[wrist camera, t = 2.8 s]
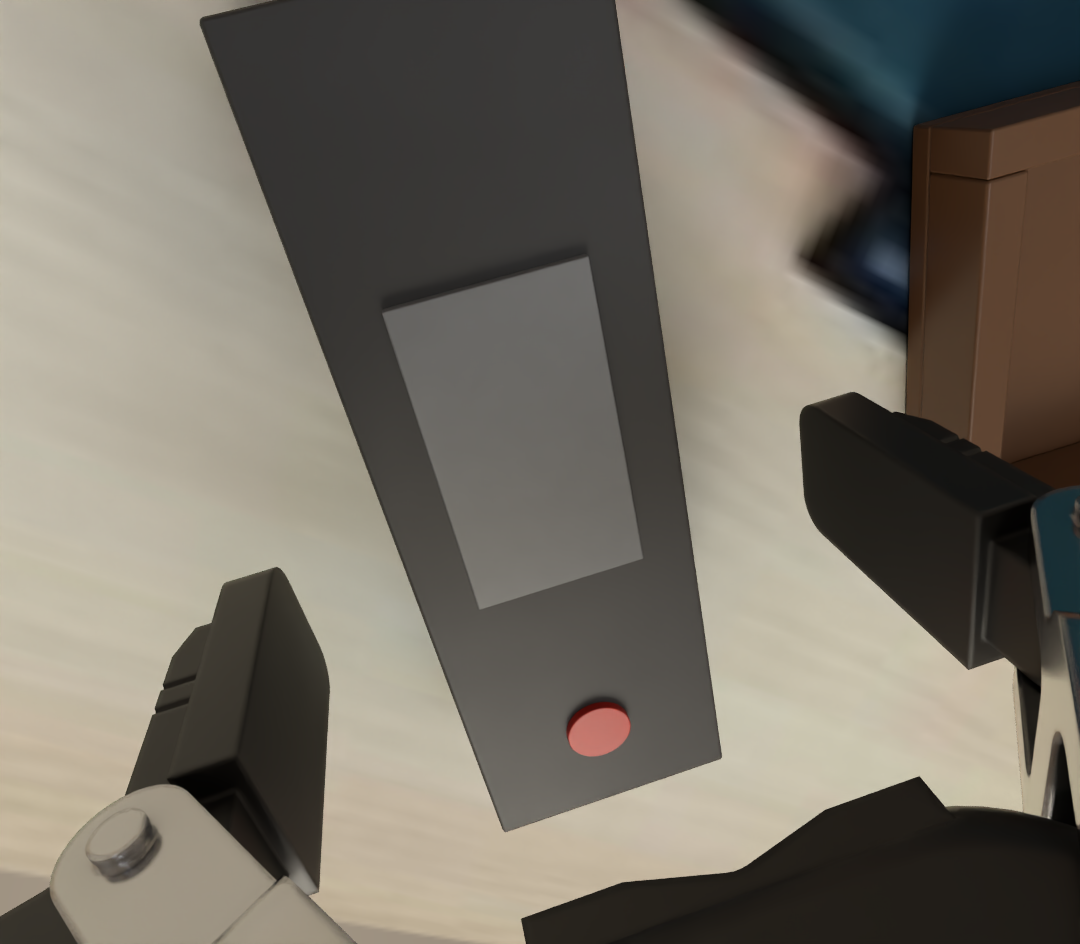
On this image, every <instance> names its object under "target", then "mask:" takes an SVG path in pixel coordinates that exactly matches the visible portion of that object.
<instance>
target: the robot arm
mask: <svg viewBox="0 0 1080 944" xmlns="http://www.w3.org/2000/svg"><path fill="white" fill-rule="evenodd" d="M799 422H800V440H801V456H802V472H803V487H804V498H805V503H806V506H807V509H808V512H809V515H810V517H811V519H812V521H813V523H814V524H815V526H816V527H817V529H818V530H819V531H820V532H821V533H822V534H823V535H824V536H825V537H826V538H827V539H828V540H829V541H830V542H831V543H832V544H833V545H834V546H835V547H837V548H838V549H839V550H840V551H841V552H842V553H843V554H844V555H845V556H846V557H847V558H848V559H850V560H851V561H852V562H853V563H854V564H855V565H856V566H857V567H858V568H859V569H860V570H861V571H862V572H864V573H865V574H866V575H867V576H868V577H869V578H870V579H871V580H872V581H873V582H874V583H875V584H876V585H878V586H879V587H880V588H881V589H882V590H883V591H884V592H885V593H886V594H887V595H888V596H889V597H890V598H892V599H893V600H894V601H895V602H896V603H897V604H898V605H899V606H900V607H901V608H902V609H903V610H905V611H906V612H907V613H908V614H909V615H910V616H911V617H912V618H913V619H914V620H915V621H916V622H917V623H919V624H920V625H921V626H922V627H923V628H924V629H925V630H926V631H927V632H928V633H929V634H930V635H931V636H933V637H934V638H935V639H936V640H937V641H938V642H939V643H940V644H941V645H942V646H943V647H944V648H945V649H947V650H948V651H949V652H950V653H951V654H952V655H953V656H954V657H955V658H956V659H957V660H958V661H960V662H961V663H962V664H963V665H964V666H965V667H966V668H967V669H968V670H969V669H972V668H975V667H978V666H981V665H984V664H987V663H990V662H993V661H995V660H998V659H1001V658H1004V657H1005V658H1006V659H1007V660H1009V661H1010V662H1011V663H1012V664H1013V665H1014V676H1013V698H1014V709H1015V721H1016V732H1017V744H1018V755H1019V767H1020V778H1021V790H1022V804H1023V812H1018V811H1013V810H1007V809H999V808H990V807H979V806H949V807H945V806H944V805H943V804H942V803H941V801H940V800H939V799H938V798H937V797H936V795H935V794H934V793H933V792H932V791H931V790H930V788H929V787H928V786H927V785H926V784H925V782H924V781H923V780H922V779H921V778H920V776H919V777H916V778H913V779H910V780H908V781H905V782H902V783H899V784H896V785H894V786H891V787H888V788H885V789H882V790H880V791H877V792H874V793H871V794H868V795H866V796H863V797H860V798H857V799H854V800H852V801H849V802H846V803H843V804H840V805H838V806H835V807H832V808H829V809H826V810H824V811H823V812H822V813H820V814H819V815H817V816H816V817H815V818H813V819H812V820H810V821H809V822H808V823H806V824H805V825H803V826H802V827H800V828H799V829H798V830H796V831H795V832H793V833H792V834H791V835H789V836H788V837H786V838H785V839H784V840H782V841H781V842H779V843H778V844H777V845H775V846H774V847H772V848H771V849H769V850H768V851H767V852H765V853H764V854H762V855H761V856H760V857H758V858H757V859H755V860H754V861H753V862H751V863H750V864H748V865H747V866H745V867H743V868H742V869H739V870H737V871H734V872H728V873H720V874H709V875H698V876H687V877H676V878H666V879H655V880H644V881H633V882H622V883H620V884H617V885H614V886H611V887H608V888H606V889H603V890H600V891H597V892H595V893H592V894H589V895H586V896H583V897H581V898H578V899H575V900H572V901H569V902H567V903H564V904H561V905H558V906H555V907H553V908H550V909H547V910H544V911H541V912H539V913H536V914H533V915H530V916H527V917H525V918H522V919H521V921H522V926H523V931H524V936H525V941H526V944H1080V485H1078V486H1070V487H1064V488H1060V489H1055V488H1053V487H1051V486H1050V485H1048V484H1046V483H1044V482H1042V481H1041V480H1039V479H1037V478H1035V477H1033V476H1032V475H1030V474H1028V473H1026V472H1024V471H1022V470H1021V469H1019V468H1017V467H1015V466H1013V465H1012V464H1010V463H1008V462H1006V461H1004V460H1002V459H1001V458H999V457H997V456H995V455H993V454H992V453H990V452H988V451H983V452H982V451H981V448H980V447H979V446H977V445H975V444H973V443H972V442H970V441H968V440H966V439H964V438H962V439H959V437H958V435H957V434H955V433H953V432H952V431H950V430H948V429H946V428H944V427H942V426H941V425H939V424H937V423H935V422H933V421H932V420H928V419H924V418H919V417H915V416H911V415H907V414H903V413H899V412H893V413H891V412H890V411H888V410H886V409H885V408H883V407H881V406H879V405H878V404H876V403H874V402H872V401H871V400H869V399H867V398H865V397H864V396H862V395H860V394H858V393H856V392H850V393H846V394H843V395H840V396H836V397H833V398H830V399H827V400H823V401H820V402H817V403H814V404H810V405H807V406H805V407H804V408H803V409H802V411H801V414H800V421H799ZM163 687H164V690H162V691H161V692H160V695H159V697H158V700H157V703H156V706H155V711H156V714H154V715H152V718H151V721H150V724H149V727H148V730H147V733H146V735H145V738H144V741H143V744H142V747H141V750H140V753H139V756H138V759H137V762H136V765H135V768H134V771H133V773H132V776H131V779H130V782H129V785H128V788H127V791H126V794H125V796H124V797H122V798H120V799H118V800H117V801H115V802H113V803H112V804H110V805H109V806H107V807H106V808H104V809H103V810H102V811H100V812H99V813H98V814H96V815H95V816H94V817H93V818H92V819H90V820H89V821H88V822H87V823H86V824H85V825H84V826H83V827H82V828H81V829H80V830H79V831H78V832H77V833H76V835H75V836H74V837H73V838H72V839H71V840H70V842H69V843H68V844H67V846H66V847H65V849H64V850H63V852H62V853H61V855H60V857H59V859H58V860H57V862H56V864H55V867H54V870H53V872H52V875H51V880H50V887H49V888H47V889H46V890H44V891H43V892H41V893H39V894H38V895H36V896H34V897H33V898H31V899H29V900H27V901H26V902H24V903H23V904H21V905H19V906H17V907H16V908H14V909H12V910H10V911H9V912H7V913H5V914H4V915H2V916H0V944H357V943H356V942H355V941H354V940H353V939H352V938H351V937H350V936H349V935H348V934H347V933H346V932H345V931H344V930H342V928H341V927H340V926H339V925H338V924H336V923H335V922H334V921H333V920H332V919H331V918H330V917H329V916H328V915H327V914H326V913H325V912H324V911H323V910H322V909H321V908H320V907H319V906H318V905H317V904H316V903H315V902H314V901H313V900H312V899H311V898H310V897H309V895H312V894H315V893H317V892H319V882H320V863H321V844H322V825H323V807H324V788H325V769H326V750H327V732H328V713H329V694H330V685H329V676H328V671H327V666H326V663H325V659H324V656H323V653H322V651H321V648H320V646H319V644H318V642H317V639H316V637H315V635H314V633H313V631H312V629H311V627H310V625H309V623H308V621H307V619H306V616H305V614H304V612H303V610H302V608H301V606H300V604H299V602H298V600H297V598H296V595H295V593H294V591H293V589H292V587H291V585H290V583H289V581H288V579H287V577H286V575H285V574H284V573H283V571H282V570H281V569H280V568H278V567H275V568H272V569H268V570H265V571H262V572H259V573H255V574H252V575H249V576H245V577H242V578H239V579H236V580H232V581H229V582H226V583H224V585H223V586H222V589H221V592H220V595H219V599H218V602H217V606H216V609H215V613H214V616H213V620H212V623H210V624H207V625H204V626H200V627H197V628H195V629H194V631H193V632H192V633H191V634H190V636H189V637H188V638H187V639H186V641H185V642H184V643H183V644H182V646H181V647H180V648H179V649H178V651H177V652H176V653H175V654H174V655H173V657H172V660H171V662H170V665H169V668H168V671H167V674H166V677H165V680H164V683H163Z"/></svg>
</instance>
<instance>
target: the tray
mask: <svg viewBox="0 0 1080 944" xmlns="http://www.w3.org/2000/svg"><path fill="white" fill-rule="evenodd" d="M906 414H907V415H911V416H915V417H919V418H924V419H928V420H932V421H933V422H935V423H937V424H939V425H941V426H942V427H944V428H946V429H948V430H950V431H952V432H953V433H955V434H957V435H958V437H959V439H962V438H964V439H966V440H968V441H970V442H972V443H973V444H975V445H977V446H979V447H980V448H981V451H982V452H983V451H988V452H990V453H992V454H993V455H995V456H997V457H999V458H1001V459H1002V460H1004V461H1006V462H1008V463H1010V464H1012V465H1013V466H1015V467H1017V468H1019V469H1021V470H1022V471H1024V472H1026V473H1028V474H1030V475H1032V476H1033V477H1035V478H1037V479H1039V480H1041V481H1042V482H1044V483H1046V484H1048V485H1050V486H1051V487H1053V488H1055V489H1060V488H1064V487H1070V486H1078V485H1080V81H1077V82H1073V83H1069V84H1066V85H1062V86H1058V87H1055V88H1051V89H1047V90H1043V91H1040V92H1036V93H1032V94H1029V95H1025V96H1021V97H1017V98H1014V99H1010V100H1006V101H1003V102H999V103H995V104H991V105H988V106H984V107H980V108H977V109H973V110H969V111H965V112H962V113H958V114H954V115H951V116H947V117H943V118H939V119H936V120H932V121H928V122H925V123H921V124H917V125H916V126H914V128H913V163H912V202H911V241H910V280H909V319H908V358H907V397H906Z"/></svg>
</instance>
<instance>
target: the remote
mask: <svg viewBox="0 0 1080 944" xmlns="http://www.w3.org/2000/svg"><path fill="white" fill-rule="evenodd" d="M200 27H201V29H202V32H203V35H204V37H205V40H206V43H207V45H208V48H209V51H210V53H211V56H212V59H213V61H214V64H215V67H216V69H217V72H218V75H219V77H220V80H221V83H222V85H223V88H224V91H225V93H226V96H227V99H228V101H229V104H230V106H231V109H232V112H233V114H234V117H235V120H236V122H237V125H238V128H239V130H240V133H241V136H242V138H243V141H244V144H245V146H246V149H247V152H248V154H249V157H250V160H251V162H252V165H253V168H254V170H255V173H256V176H257V178H258V181H259V183H260V186H261V189H262V191H263V194H264V197H265V199H266V202H267V205H268V207H269V210H270V213H271V215H272V218H273V221H274V223H275V226H276V229H277V231H278V234H279V237H280V239H281V242H282V245H283V247H284V250H285V253H286V255H287V258H288V261H289V263H290V266H291V268H292V271H293V274H294V276H295V279H296V282H297V284H298V287H299V290H300V292H301V295H302V298H303V300H304V303H305V306H306V308H307V311H308V314H309V316H310V319H311V322H312V324H313V327H314V330H315V332H316V335H317V338H318V340H319V343H320V345H321V348H322V351H323V353H324V356H325V359H326V361H327V364H328V367H329V369H330V372H331V375H332V377H333V380H334V383H335V385H336V388H337V391H338V393H339V396H340V399H341V401H342V404H343V407H344V409H345V412H346V415H347V417H348V420H349V422H350V425H351V428H352V430H353V433H354V436H355V438H356V441H357V444H358V446H359V449H360V452H361V454H362V457H363V460H364V462H365V465H366V468H367V470H368V473H369V476H370V478H371V481H372V484H373V486H374V489H375V492H376V494H377V497H378V499H379V502H380V505H381V507H382V510H383V513H384V515H385V518H386V521H387V523H388V526H389V529H390V531H391V534H392V537H393V539H394V542H395V545H396V547H397V550H398V553H399V555H400V558H401V561H402V563H403V566H404V569H405V571H406V574H407V576H408V579H409V582H410V584H411V587H412V590H413V592H414V595H415V598H416V600H417V603H418V606H419V608H420V611H421V614H422V616H423V619H424V622H425V624H426V627H427V630H428V632H429V635H430V638H431V640H432V643H433V646H434V648H435V651H436V654H437V656H438V659H439V661H440V664H441V667H442V669H443V672H444V675H445V677H446V680H447V683H448V685H449V688H450V691H451V693H452V696H453V699H454V701H455V704H456V707H457V709H458V712H459V715H460V717H461V720H462V723H463V725H464V728H465V731H466V733H467V736H468V738H469V741H470V744H471V746H472V749H473V752H474V754H475V757H476V760H477V762H478V765H479V768H480V770H481V773H482V776H483V778H484V781H485V784H486V786H487V789H488V792H489V794H490V797H491V800H492V802H493V805H494V808H495V810H496V813H497V815H498V818H499V821H500V823H501V826H502V829H503V830H504V832H508V831H511V830H513V829H516V828H519V827H522V826H525V825H528V824H531V823H534V822H537V821H540V820H543V819H546V818H549V817H552V816H555V815H557V814H560V813H563V812H566V811H569V810H572V809H575V808H578V807H581V806H584V805H587V804H590V803H593V802H596V801H598V800H601V799H604V798H607V797H610V796H613V795H616V794H619V793H622V792H625V791H628V790H631V789H634V788H637V787H640V786H642V785H645V784H648V783H651V782H654V781H657V780H660V779H663V778H666V777H669V776H672V775H675V774H678V773H681V772H684V771H686V770H689V769H692V768H695V767H698V766H701V765H704V764H707V763H710V762H713V761H716V760H719V759H721V758H722V753H721V746H720V739H719V732H718V725H717V718H716V711H715V704H714V697H713V690H712V682H711V675H710V668H709V661H708V654H707V647H706V640H705V633H704V626H703V619H702V612H701V605H700V598H699V591H698V583H697V576H696V569H695V562H694V555H693V548H692V541H691V534H690V527H689V520H688V513H687V506H686V499H685V492H684V485H683V477H682V470H681V463H680V456H679V449H678V442H677V435H676V428H675V421H674V414H673V407H672V400H671V393H670V386H669V379H668V371H667V364H666V357H665V350H664V343H663V336H662V329H661V322H660V315H659V308H658V301H657V294H656V287H655V280H654V272H653V265H652V258H651V251H650V244H649V237H648V230H647V223H646V216H645V209H644V202H643V195H642V188H641V181H640V174H639V166H638V159H637V152H636V145H635V138H634V131H633V124H632V117H631V110H630V103H629V96H628V89H627V82H626V75H625V68H624V60H623V53H622V46H621V39H620V32H619V25H618V18H617V11H616V4H615V0H273V1H269V2H265V3H260V4H256V5H252V6H248V7H243V8H239V9H235V10H231V11H226V12H222V13H218V14H213V15H209V16H205V17H202V18H201V19H200Z"/></svg>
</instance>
